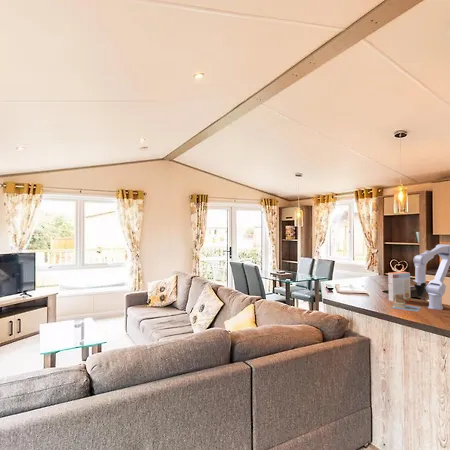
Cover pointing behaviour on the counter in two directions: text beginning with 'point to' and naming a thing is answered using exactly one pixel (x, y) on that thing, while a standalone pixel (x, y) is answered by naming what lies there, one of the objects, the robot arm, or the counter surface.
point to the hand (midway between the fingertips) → (420, 294)
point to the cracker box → (399, 285)
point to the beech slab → (399, 304)
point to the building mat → (408, 308)
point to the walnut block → (399, 298)
